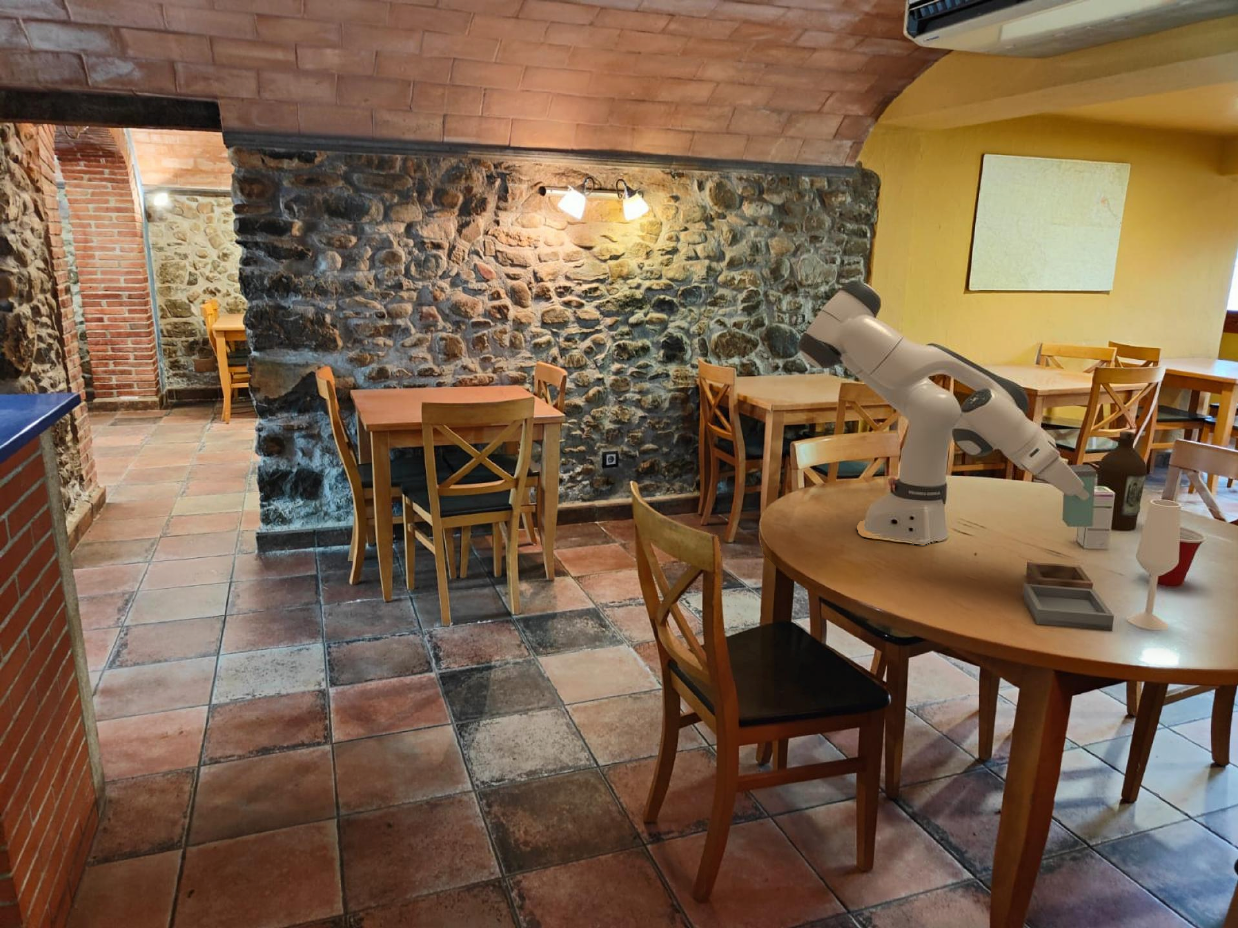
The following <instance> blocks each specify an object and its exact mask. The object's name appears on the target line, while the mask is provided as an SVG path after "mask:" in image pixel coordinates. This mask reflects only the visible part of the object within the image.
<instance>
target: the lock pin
mask: <svg viewBox="0 0 1238 928" xmlns="http://www.w3.org/2000/svg"><path fill="white" fill-rule="evenodd" d="M1067 465H1068V464H1067ZM1068 466H1069V467H1070V468H1071V469H1072V470H1073V472H1074V473H1075V474H1076V475H1077V476H1078V477H1079V478H1080V479H1081V481H1082V482H1083V483H1084V487H1083V489H1084V490H1085V491H1087V492H1088V493H1089V494H1090V496H1089V497H1088V498H1087V499H1086V500H1082V499H1080V498H1079V497H1078V496H1077V495H1075V494H1074V495H1073V496H1068V495H1066V494H1065V493H1063V494H1062V495H1063V496H1062V497H1063V499H1062V500H1063V501H1062V519H1061V520H1062V521H1063V522H1064V524H1066V526H1067V527H1068V528H1070V527H1071V528H1073V527H1074V528H1075V527H1076V528H1077V527H1093V508H1094V489H1095V486H1096V485H1095V484H1096V483H1095V482H1096V477H1097V470H1096V469H1095V468H1094V467H1092V466H1091V465H1090V464H1073V465H1072V464H1069V465H1068Z"/></svg>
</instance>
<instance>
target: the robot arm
mask: <svg viewBox="0 0 1238 928" xmlns="http://www.w3.org/2000/svg"><path fill="white" fill-rule="evenodd" d="M881 307H882V300H881V297H880V296H879V294H878V293H877V291H876V290H875V288H873V287H872V286H871V285H869V284H868V283H866V282H863V281H860V280H858V279H857V280H852V279H851V280H849V281H847V282H846V283H844V284H843V285H842V286H841V287H840V288H839V291H838V292H837V293H835V295H833V297H831V298H830V299H829V300H828V301H827V302H826V304H825V305H824V306H823V307H821V309H820V311H819V313H818V314H817V315H816V317H815V318H814V319H813V320H812V322H811V323H810V325H809V326H808V328H807V329H806V331H805V332H803V333H802V335H801V336H800V338H799V339H798V342H797V348H798V351H799V352H800V354H801V356H802V357H803V359H804V360H805V361H806V362H807V363H808V364H810V365H812V366H814V367H816V368H819V369H822V370H824V369H831V368H833V367H835V366H836V365H843V366H844V367H845V368H846V369H847V370H848V371H850V372H851V373H852V374H853V375H855V377H856V378H858V379H859V380H860V381H861V382H863V384H865V385H866V386H867V387H868V388H870V389H871V391H873V392H874V393H876V394H877V395H878V396H879V398H882V399H883V400H884V401H885V402H886V403H887V404H888V405H889V406H891V407H892V408H893V409H894V410H895V411H897V413H899V414H900V415H902V417H904V418H905V419H906V420H907V422H908V426H907V432H906V436H905V440H904V444H903V446H902V448H901V450H900V463H899V465H900V466H899V478H897V479H896V478H895V477H894V476H893V477H891V476H890V477H889V478H888V479H887V481H888V482H887V483H888V485H889V486H890V489H889V490H890V492H889V493H888V494H886V495H884V496H883V497H881V498H879V499H878V500H876V501H873V502H872V503H871V504H870V506H869V507H868V509H867V512H866V516H865V518H864V519H865V524H864V527H865V530H866V531H868V532H871V533H872V534H881V535H875V536H879V537H880V536H881V537H883V538H890V539H894V540H901V541H908V542H912V543H919V544H927V543H929V544H931V543H930V542H932V541H938V542H943V541H945V540H946V539H948V538H949V534H948V529H947V523H946V514H945V513H946V511H945V506H946V505H947V504H946V502H947V499H948V483H947V469H948V459H949V457H948V456H949V453H950V452H949V451H950V446H951V444H952V440H953V442H954V444H955V446H956V447H957V448H958V449H959V450H960V451H962V453H965V454H966V455H968V456H970V457H972V458H973V457H984V456H988V455H990V454H991V453H993V452H994V451H995V450H999V451H1001V452H1002V454H1003V455H1004V456H1005V457H1006V458H1008V459H1009V460H1010V461H1011V463H1013V464H1014V465H1015V466H1017V468H1018V469H1020V470H1022V471H1027V472H1029V473H1031V475H1033V476H1037V475H1038V476H1039V477H1041V478H1042V479H1043V480H1045V481H1046V482H1047V483H1049V484H1050V485H1051V486H1053V487H1054V488H1056V489H1057V490H1058V491H1060V492H1061V493H1063V494H1064V493H1065V494H1066V495H1068V496H1073V495H1074V494H1075V495H1077V496H1078V497H1079V498H1080V499H1082V500H1086V499H1087V498H1088V497H1089V496H1090V494H1089V493H1088V492H1087V491H1085V490H1084V489H1083V487H1084V483H1083V482H1082V481H1081V479H1080V478H1079V477H1078V476H1077V475H1076V474H1075V473H1074V472H1073V470H1072V469H1071V468H1070V467H1069V466H1068V463H1066V462H1065V461H1064V459H1063V458H1062V457H1061V453H1060V451H1059V450H1058V448H1057V445H1056V439H1055V438H1054V437H1053V436H1051V434H1050V433H1048V432H1047V431H1046V430H1044V428H1042V426H1040V425H1039V424H1038V423H1036V422H1034V421H1032V420H1030V419H1029V418H1028V417H1027V416H1026V414H1027V413H1028V412H1029V410H1030V401H1029V397H1028V394H1027V391H1026V390H1025V388H1024V387H1023V386H1021V385H1020V384H1018V383H1016V382H1015V381H1013V380H1010V379H1008V378H1005V377H1002V376H1000V375H997V374H995V373H994V372H991V371H990V370H988V369H986V368H984V367H982V366H980V365H979V364H977V363H975V362H973V361H971V360H969V359H968V358H966V357H965V356H962V355H960V354H959V353H957V352H956V351H953V350H951V349H949V348H947V347H945V346H943V345H940V344H938V343H933V342H932V343H927V344H920V343H918V342H917V343H916V342H914V341H912V340H910V339H908V338H907V337H905V336H904V335H903V334H901V333H900V332H899V331H897V330H896V329H895V328H893V327H892V326H890V325H888V324H886V323H885V322H883V321H881V320H879V319H878V318H877V316H878V315H879V312H880V310H881ZM934 375H946V376H948V377H950V378H952V379H954V380H956V381H957V382H960V383H962V384H963V385H964V386H967V387H969V388H970V389H972V390H973V391H975V392H974V393H972V394H971V395H970V396H968V397H967V398H966V399H965V400H964V402H963V404H962V405H961V406H960V404H959V401H958V399H957V398H956V396H955V395H954V394H953V392H951V391H949V390H948V389H945V388H943V387H941V386H940V385H938V384H936V383H935V382H934V381H932V380H931V379H930V378H929V377H930V376H934ZM932 543H933V542H932ZM927 545H928V544H927Z"/></svg>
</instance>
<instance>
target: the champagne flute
mask: <svg viewBox="0 0 1238 928" xmlns="http://www.w3.org/2000/svg"><path fill="white" fill-rule="evenodd" d="M1146 512H1147V513H1146V517H1145V520H1144V525H1143V528H1142V532H1141V534H1140V535H1141V536H1140V540H1139V543H1138V546H1137V550H1136V554H1135V557H1136V560H1137V562H1138V564H1139V566H1141V568H1142V569H1143V570H1144V571H1145V572H1146V573H1147V574H1148V575H1149V577H1150V575H1151V577H1150V578H1149V585H1148V591H1147V597H1146V598H1147V599H1146V603H1145V604H1146V605H1145V611H1144V612H1141V613H1137V614H1132V615H1128V616H1127V617H1126V620H1127V621H1128V622H1129V624H1132V625H1133V626H1135V627H1136V626H1137V627H1139V628H1143V629H1147V630H1152V631H1161V630H1167V629H1168V627H1169V624H1168V623H1167V622H1165V621H1164V620H1162V619H1161V618H1159V617H1158V616H1156V615H1155V614H1154V613H1153V612H1154V607H1155V606H1154V605H1155V598H1156V593H1157V586H1158V584H1157V581H1158V576H1161V575H1163V574H1165V573H1167V572H1169V571H1171V570H1172V569H1174V568H1175V567H1176V566H1177V565H1178V563H1179V542H1180V526H1181V518H1182V517H1181V516H1182V515H1181V513H1182V504H1181V503H1179V502H1178V501H1174V500H1169V499H1151V500H1150V501H1149V505H1148V509H1147V511H1146Z"/></svg>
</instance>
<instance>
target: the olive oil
mask: <svg viewBox="0 0 1238 928" xmlns="http://www.w3.org/2000/svg"><path fill="white" fill-rule="evenodd" d="M1134 437H1135V432H1133V431H1127V430H1126V431H1125V430H1123V431H1119V436H1118V439H1117V446H1116V447H1114V448H1112V450H1110V451H1109V452H1108V453H1106V454H1105V455H1104V456H1102V457H1101V459H1100V461H1099V464H1098V466H1097V467H1098V468H1097V478H1096V486H1105V487H1107V488H1109V489H1110V490H1112V491H1113V492H1114V493H1115V498H1114V506H1113V515H1112V524H1111V531H1123V532H1125V531H1127V532H1128V531H1133V530H1135V529H1136V528H1137V527H1136V526H1137V523H1138V522H1137V521H1138V517H1139V516H1138V515H1139V513H1140V512H1141V511H1140V510H1141V500H1142V498H1143V491H1144V486H1145V481H1146V477H1147V471H1148V470H1147V465H1146V461H1145V459H1143V456H1141V455H1140V454H1139V452H1138V451H1136V449H1135V448H1134V442H1135V438H1134Z"/></svg>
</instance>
